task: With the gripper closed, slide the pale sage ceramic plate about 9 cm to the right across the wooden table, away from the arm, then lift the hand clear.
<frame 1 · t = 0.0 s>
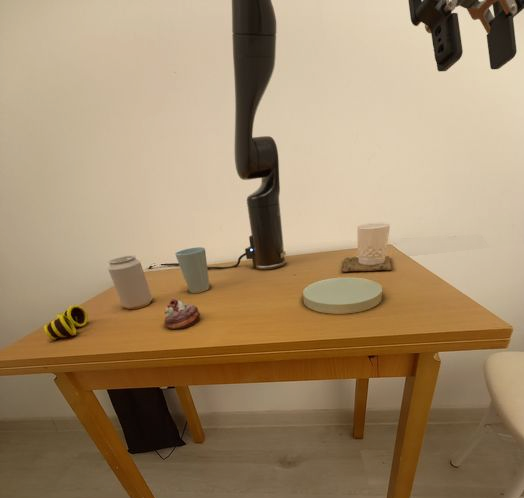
hand: (478, 64, 31), 31 cm above the table, tool tilted 20°, fingers open, 8 cm apart
plate: (341, 298, 63), on the table
cup: (199, 290, 81), on the table
yellow striped tube: (71, 332, 66), on the table
can: (139, 305, 77), on the table
pastry: (183, 322, 63), on the table
white cup: (371, 265, 80), on the table
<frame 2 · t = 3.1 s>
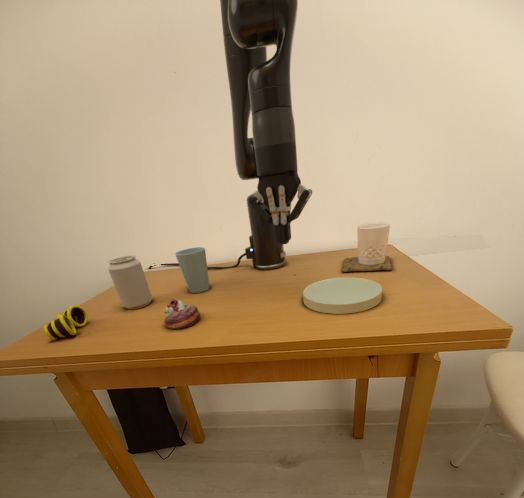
hand: (284, 243, 62), 12 cm above the table, tool pointing down, fingers closed
nothing on the table moved.
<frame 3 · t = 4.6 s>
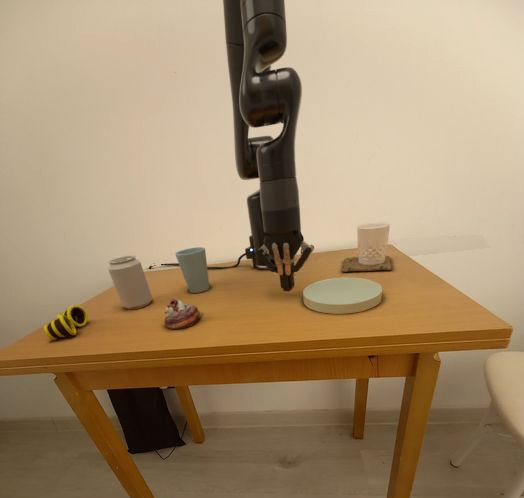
hand: (287, 289, 67), 2 cm above the table, tool pointing down, fingers closed
nothing on the table moved.
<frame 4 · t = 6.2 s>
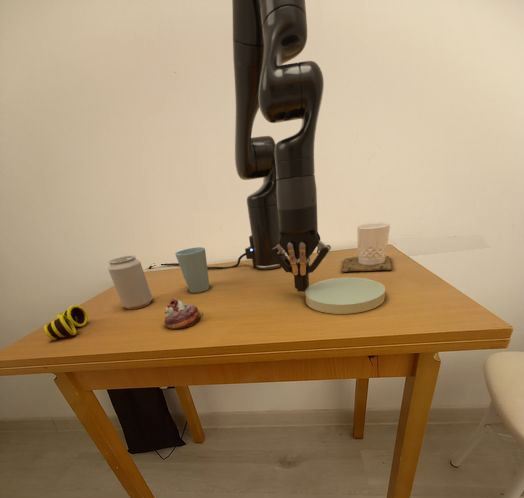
hand: (302, 290, 65), 2 cm above the table, tool pointing down, fingers closed
plate: (343, 298, 62), on the table, touching gripper
everything else where it was.
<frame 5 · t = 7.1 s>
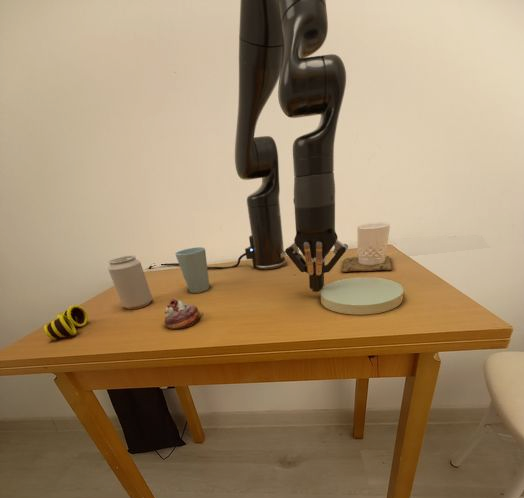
hand: (316, 290, 64), 2 cm above the table, tool pointing down, fingers closed
plate: (360, 298, 61), on the table, touching gripper
everything else where it was.
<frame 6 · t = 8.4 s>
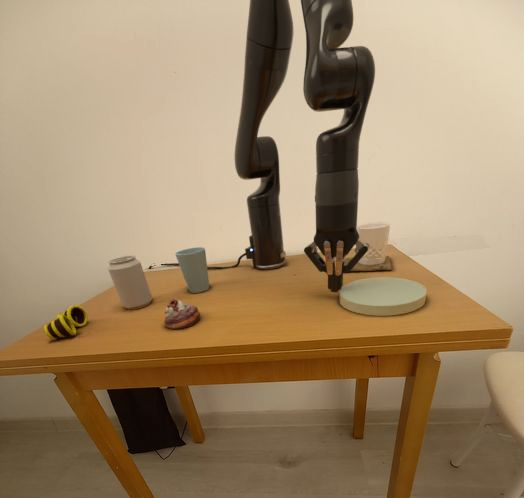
hand: (335, 290, 62), 2 cm above the table, tool pointing down, fingers closed
plate: (380, 299, 60), on the table, touching gripper
everything else where it was.
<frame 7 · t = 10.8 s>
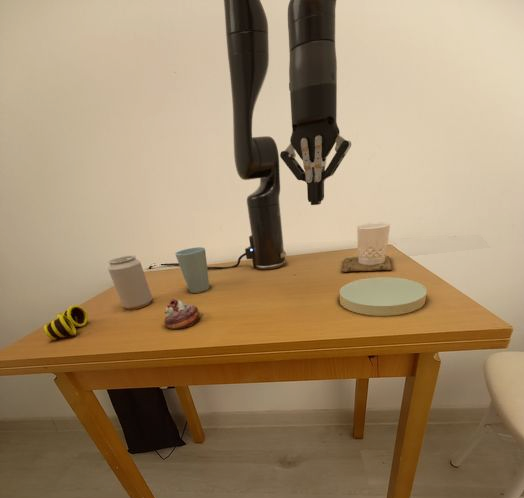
hand: (315, 204, 57), 18 cm above the table, tool pointing down, fingers closed
plate: (380, 299, 60), on the table
everything else where it was.
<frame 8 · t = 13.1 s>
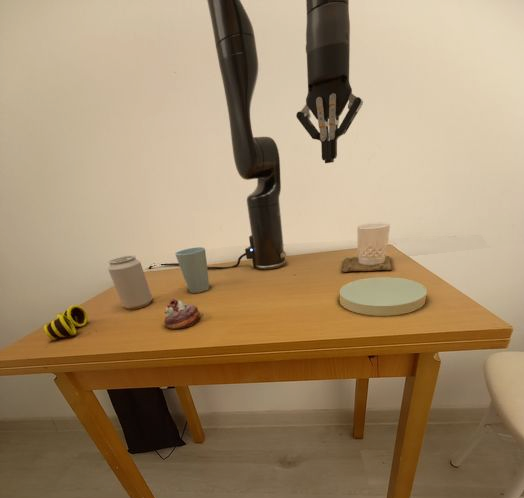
hand: (329, 162, 61), 25 cm above the table, tool pointing down, fingers closed
nothing on the table moved.
at the end: plate inside the target area (0.7 cm from its centre), on the table; plate tilted 0°; plate moved 7.8 cm from its start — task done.
